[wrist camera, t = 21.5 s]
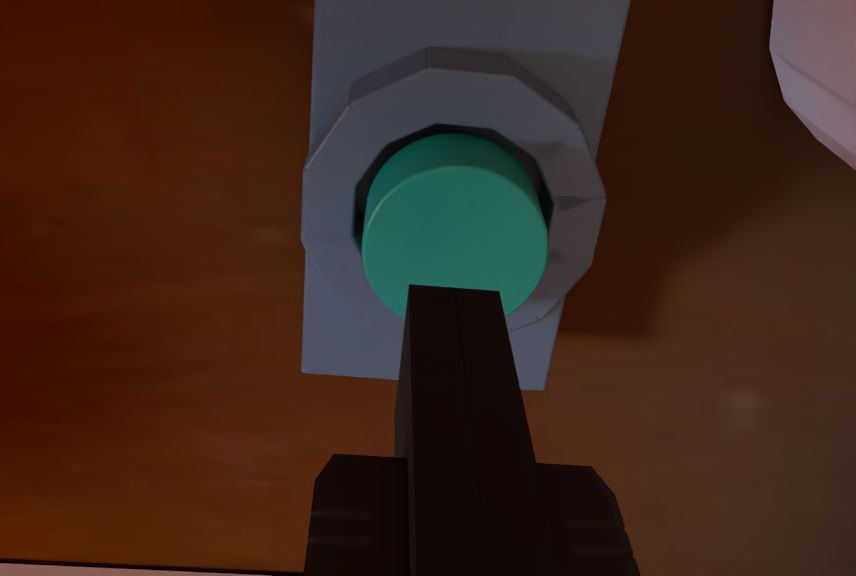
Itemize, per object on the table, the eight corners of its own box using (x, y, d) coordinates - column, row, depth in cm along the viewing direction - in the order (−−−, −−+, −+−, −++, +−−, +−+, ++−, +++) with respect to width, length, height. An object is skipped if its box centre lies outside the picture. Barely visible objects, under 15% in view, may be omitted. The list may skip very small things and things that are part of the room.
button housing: (312, 314, 26) (292, 414, 22) (330, -103, 20) (308, -80, 16) (531, 331, 26) (554, 433, 22) (612, -71, 20) (666, -40, 16)
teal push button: (360, 280, 20) (355, 326, 18) (372, 123, 18) (368, 157, 16) (522, 293, 20) (532, 339, 19) (551, 140, 18) (566, 175, 17)
